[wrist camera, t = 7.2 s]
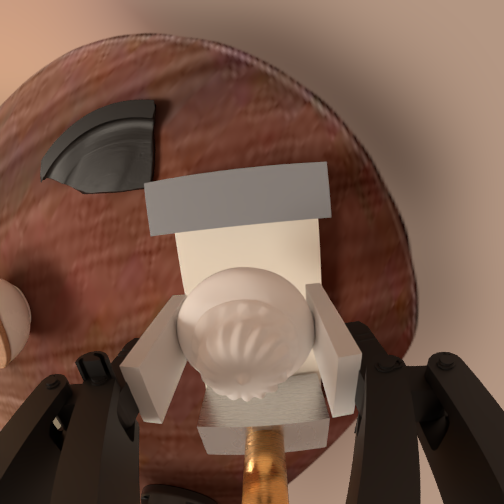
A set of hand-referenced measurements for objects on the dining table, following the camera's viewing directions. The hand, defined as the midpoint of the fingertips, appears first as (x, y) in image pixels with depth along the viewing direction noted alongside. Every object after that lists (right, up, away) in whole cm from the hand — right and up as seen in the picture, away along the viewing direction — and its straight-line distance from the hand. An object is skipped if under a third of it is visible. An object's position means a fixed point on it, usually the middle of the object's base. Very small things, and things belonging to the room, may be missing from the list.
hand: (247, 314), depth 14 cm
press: (+1, -2, +10) cm, 10 cm away
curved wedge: (-14, +13, +8) cm, 21 cm away
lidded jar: (-31, -4, +12) cm, 33 cm away
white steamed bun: (0, 0, +1) cm, 2 cm away
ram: (+1, -10, +10) cm, 14 cm away
